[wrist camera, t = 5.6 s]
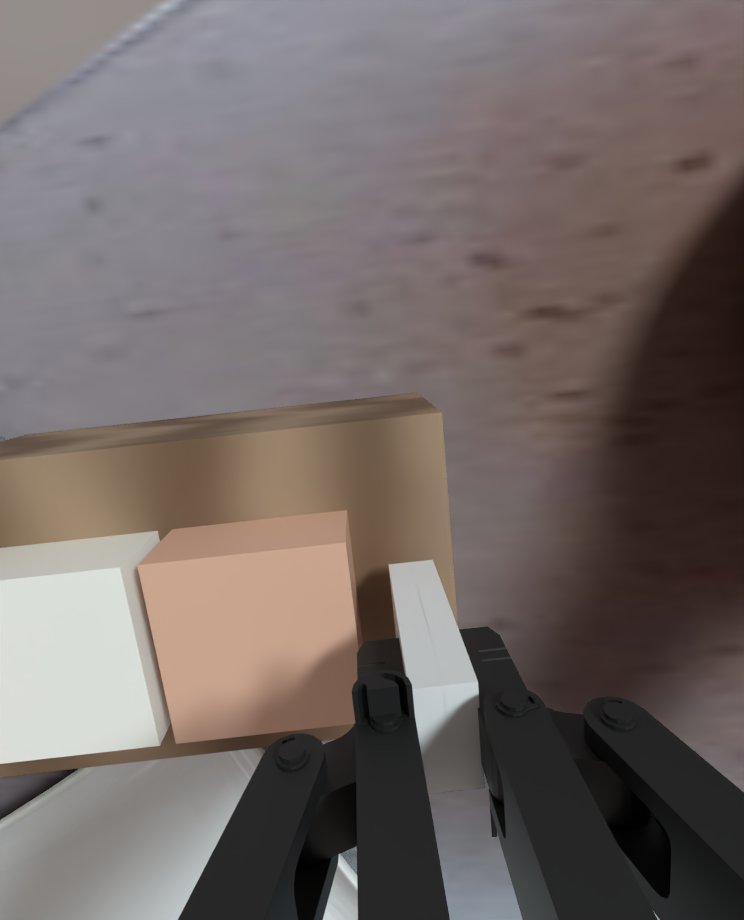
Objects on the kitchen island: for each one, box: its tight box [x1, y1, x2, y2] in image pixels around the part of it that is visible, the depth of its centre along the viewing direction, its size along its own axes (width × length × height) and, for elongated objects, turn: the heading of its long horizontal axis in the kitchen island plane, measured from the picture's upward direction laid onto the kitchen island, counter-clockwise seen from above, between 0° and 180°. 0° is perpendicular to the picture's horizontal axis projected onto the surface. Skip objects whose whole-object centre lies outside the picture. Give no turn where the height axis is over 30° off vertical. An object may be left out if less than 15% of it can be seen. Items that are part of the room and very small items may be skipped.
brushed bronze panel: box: [0, 393, 458, 777], centre depth 22 cm, size 18×12×7 cm, turn 96°
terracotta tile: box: [137, 510, 363, 744], centre depth 17 cm, size 6×6×3 cm
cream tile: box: [0, 531, 171, 764], centre depth 17 cm, size 6×6×3 cm
